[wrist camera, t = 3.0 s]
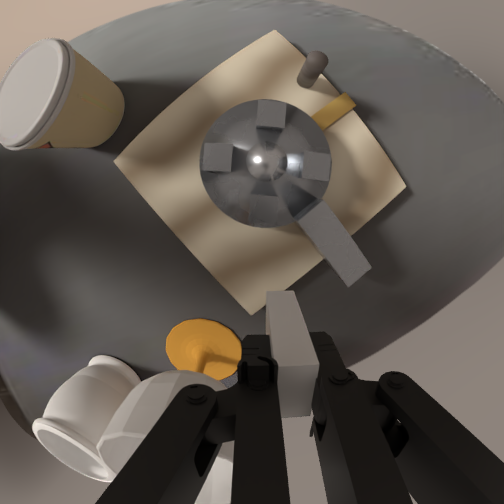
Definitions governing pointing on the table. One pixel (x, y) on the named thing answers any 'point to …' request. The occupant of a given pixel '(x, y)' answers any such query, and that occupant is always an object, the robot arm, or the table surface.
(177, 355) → the cup
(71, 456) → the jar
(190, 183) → the housing plate
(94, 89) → the coffee cup
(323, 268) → the table surface
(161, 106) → the table surface
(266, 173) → the grey notched machine part
